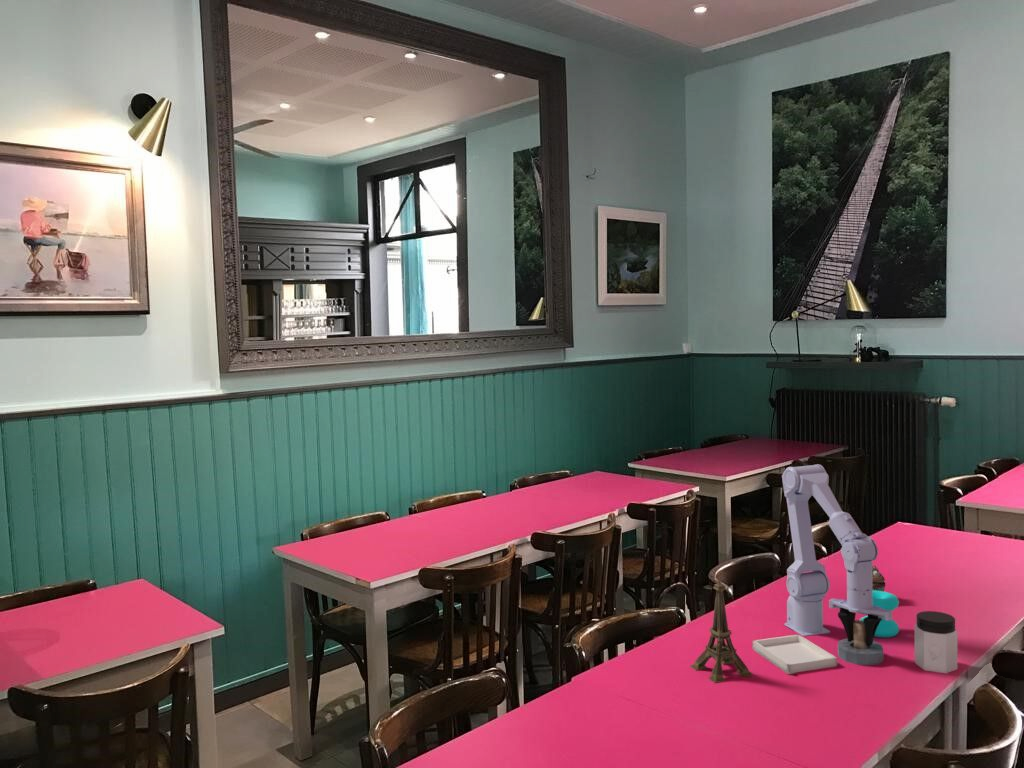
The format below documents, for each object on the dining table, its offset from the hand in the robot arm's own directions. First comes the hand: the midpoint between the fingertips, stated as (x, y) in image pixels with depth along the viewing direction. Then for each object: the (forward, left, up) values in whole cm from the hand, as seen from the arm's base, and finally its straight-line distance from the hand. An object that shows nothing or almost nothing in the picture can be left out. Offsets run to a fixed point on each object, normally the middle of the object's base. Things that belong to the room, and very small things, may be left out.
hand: (860, 642), depth 202 cm
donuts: (-13, +15, -4) cm, 20 cm away
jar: (+10, +13, -4) cm, 17 cm away
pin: (0, 0, -3) cm, 3 cm away
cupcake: (-36, +29, -4) cm, 46 cm away
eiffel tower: (-4, -35, -4) cm, 35 cm away
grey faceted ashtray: (0, 0, -4) cm, 4 cm away
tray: (-5, -15, -4) cm, 16 cm away
